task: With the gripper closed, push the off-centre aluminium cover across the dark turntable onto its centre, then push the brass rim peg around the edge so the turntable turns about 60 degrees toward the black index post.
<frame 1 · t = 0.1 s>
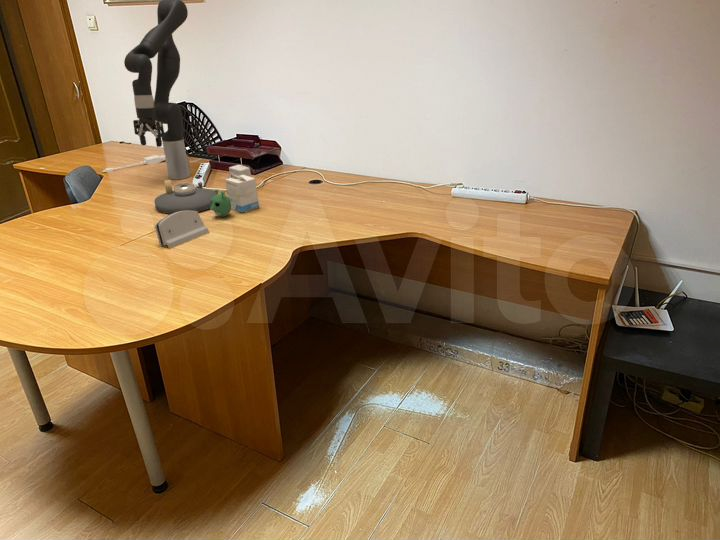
hand: (151, 145, 216), 17 cm above the table, tool pointing down, fingers open, 8 cm apart
ink box 2: (244, 208, 195), on the table
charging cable: (137, 167, 254), on the table
turntable: (186, 194, 197), point 4 cm above the table, hinge at 0.0°, touching cover
cover: (185, 193, 202), point 3 cm above the table, touching turntable
ink box: (242, 195, 209), on the table
alien toy: (222, 217, 186), on the table
index post: (201, 193, 212), on the table
hinge: (183, 239, 168), on the table
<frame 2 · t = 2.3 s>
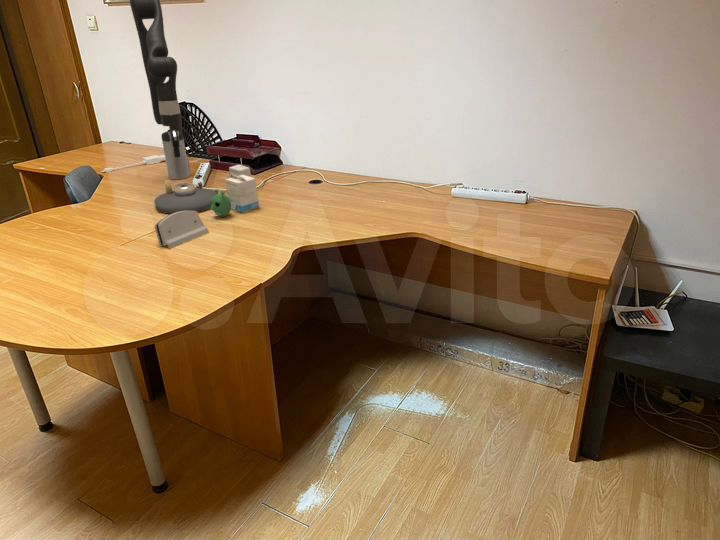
hand: (177, 156, 204), 16 cm above the table, tool pointing down, fingers closed
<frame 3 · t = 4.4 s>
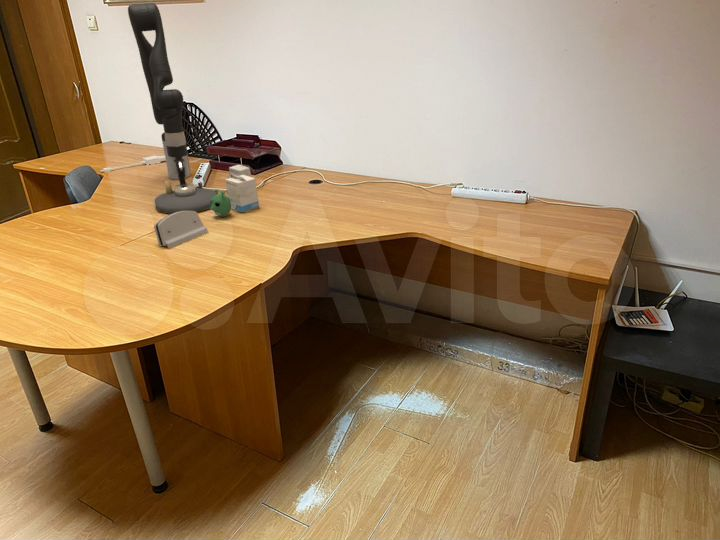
hand: (183, 186, 205), 5 cm above the table, tool pointing down, fingers closed
cover: (185, 193, 202), point 3 cm above the table, touching gripper, turntable
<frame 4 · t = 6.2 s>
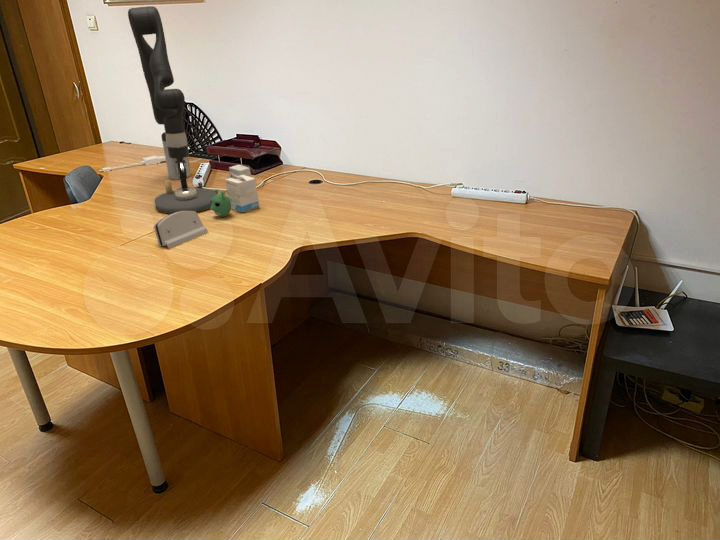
hand: (184, 187, 201), 5 cm above the table, tool pointing down, fingers closed
cover: (186, 197, 197), point 3 cm above the table, touching turntable
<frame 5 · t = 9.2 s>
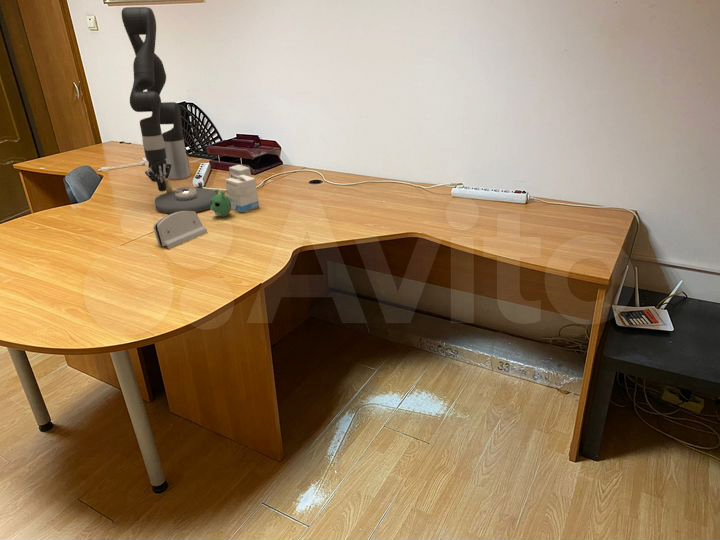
hand: (162, 191, 199), 5 cm above the table, tool pointing down, fingers closed
turntable: (186, 194, 197), point 4 cm above the table, hinge at 0.0°, touching cover, gripper
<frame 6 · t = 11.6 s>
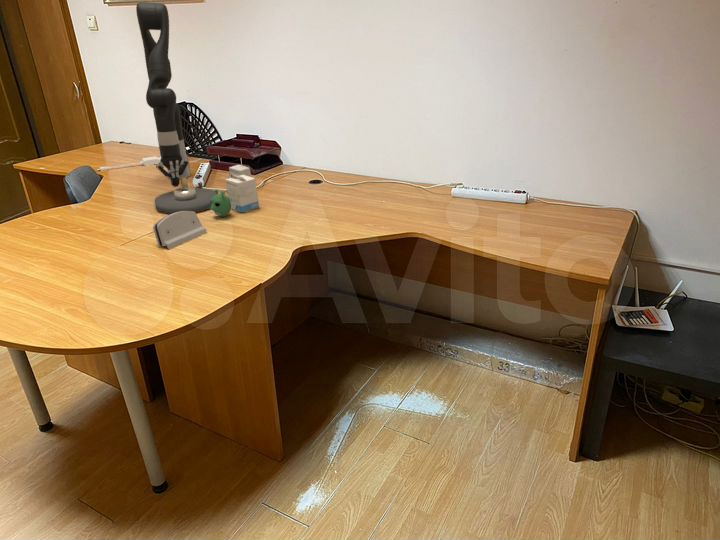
hand: (175, 186, 203), 5 cm above the table, tool pointing down, fingers closed
turntable: (186, 194, 197), point 4 cm above the table, hinge at -35.4°, touching cover, gripper
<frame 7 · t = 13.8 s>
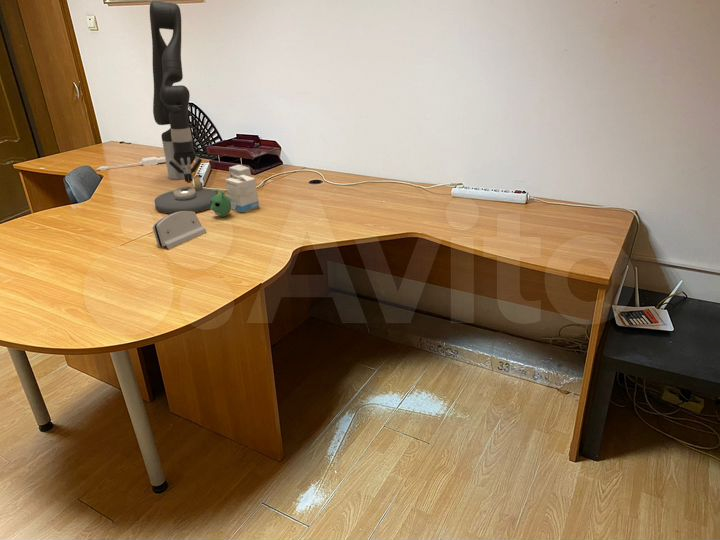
hand: (188, 182, 205), 6 cm above the table, tool pointing down, fingers closed
turntable: (186, 194, 197), point 4 cm above the table, hinge at -64.9°, touching cover
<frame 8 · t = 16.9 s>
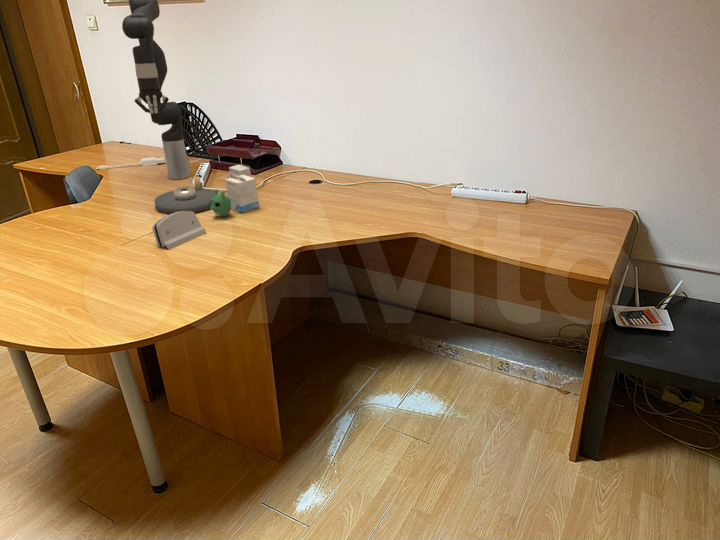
hand: (156, 123, 199), 29 cm above the table, tool pointing down, fingers closed
at the end: cover 0.5 cm from the turntable (horizontally); turntable at -65° (first picture: +0°); cover tilted 0° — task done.
